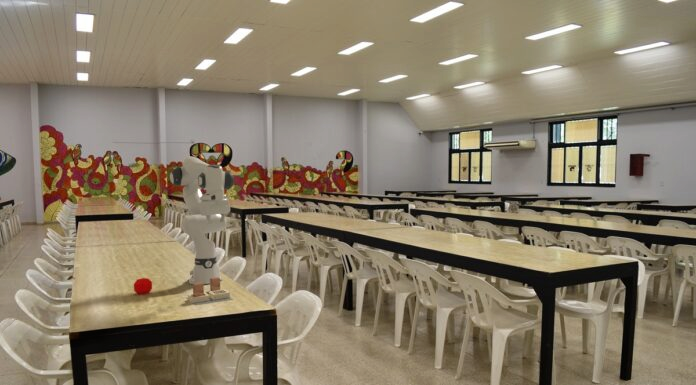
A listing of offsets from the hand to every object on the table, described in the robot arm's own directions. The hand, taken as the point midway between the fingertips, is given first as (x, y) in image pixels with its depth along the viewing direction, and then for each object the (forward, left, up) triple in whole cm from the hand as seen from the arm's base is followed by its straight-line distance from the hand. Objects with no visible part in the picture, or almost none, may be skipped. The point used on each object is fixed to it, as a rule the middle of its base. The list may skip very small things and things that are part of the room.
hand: (216, 223), depth 252 cm
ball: (-23, -33, -36) cm, 54 cm away
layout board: (+15, -9, -36) cm, 40 cm away
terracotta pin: (+1, -2, -36) cm, 36 cm away
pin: (+15, -14, -35) cm, 40 cm away
